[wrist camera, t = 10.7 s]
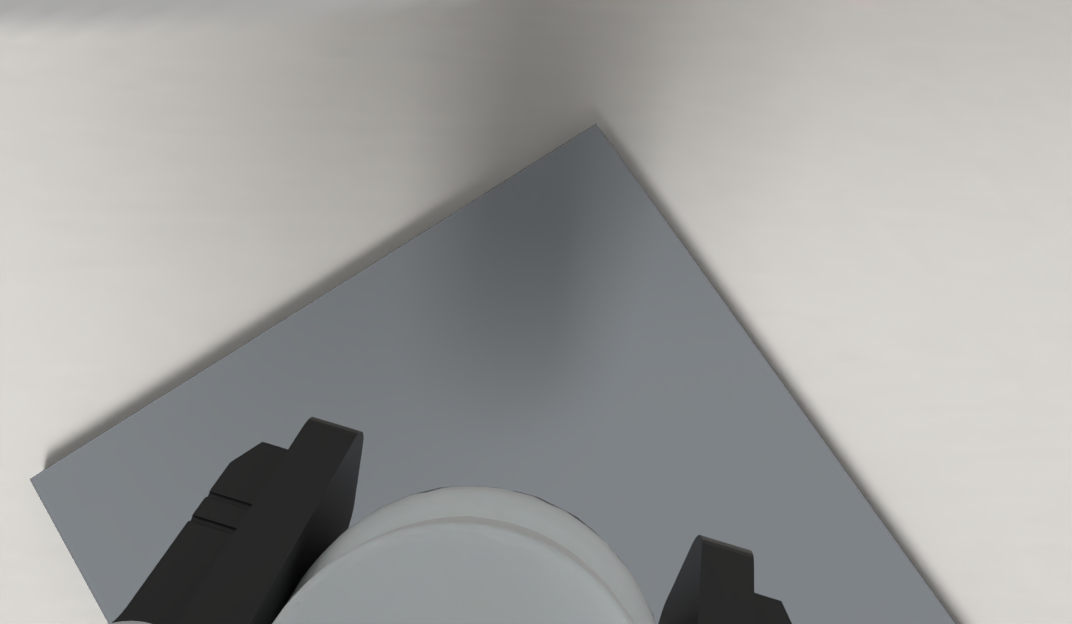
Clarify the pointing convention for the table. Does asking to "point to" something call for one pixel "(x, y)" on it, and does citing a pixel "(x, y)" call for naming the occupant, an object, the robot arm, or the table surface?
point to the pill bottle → (468, 566)
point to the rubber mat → (519, 405)
